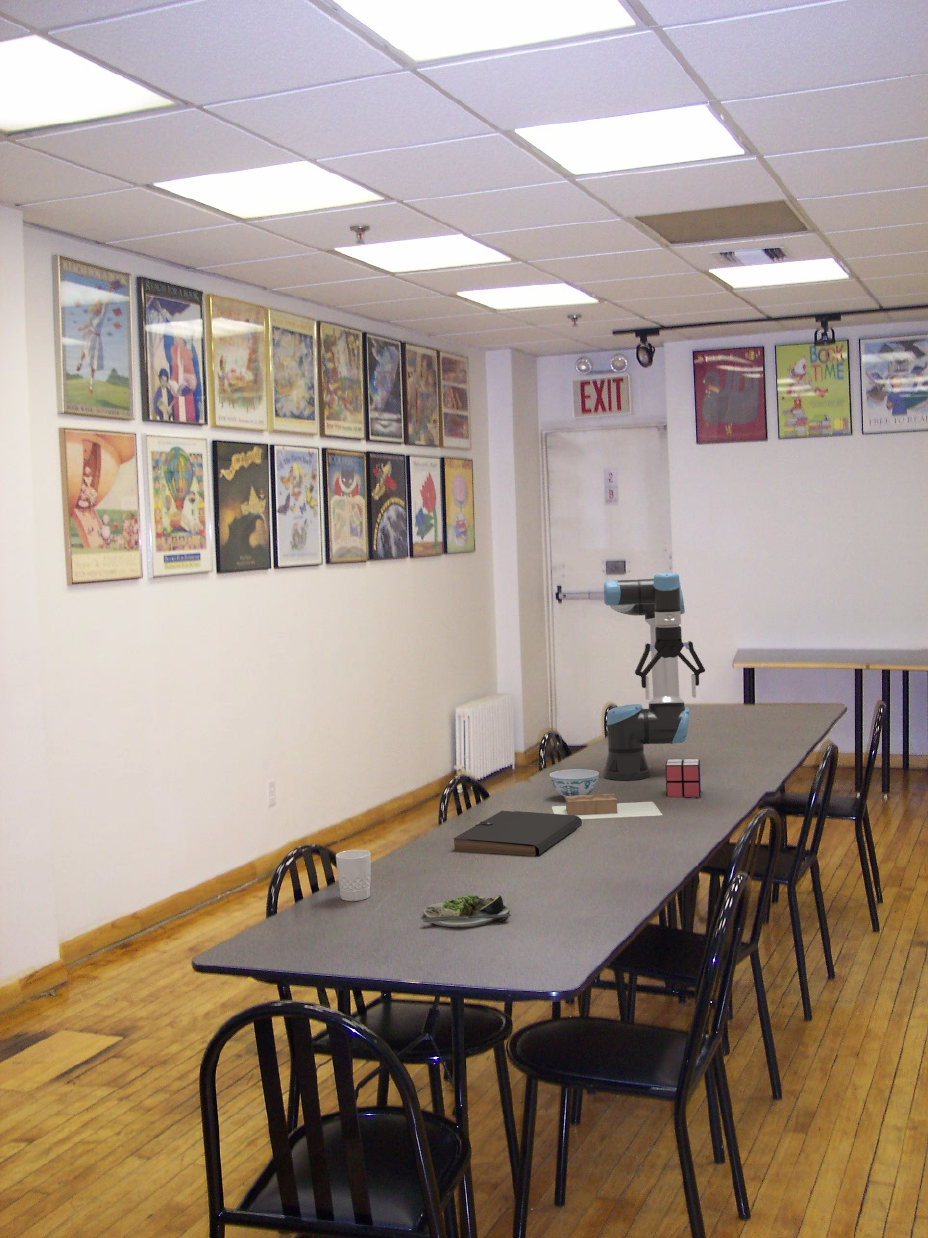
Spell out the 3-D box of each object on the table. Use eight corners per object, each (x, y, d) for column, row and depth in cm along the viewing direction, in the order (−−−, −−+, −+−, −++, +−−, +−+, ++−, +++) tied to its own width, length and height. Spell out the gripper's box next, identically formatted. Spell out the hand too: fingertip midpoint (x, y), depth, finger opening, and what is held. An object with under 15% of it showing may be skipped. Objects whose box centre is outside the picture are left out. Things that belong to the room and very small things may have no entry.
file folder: (500, 809, 348) (581, 814, 338) (501, 823, 348) (582, 829, 338) (452, 837, 318) (539, 844, 308) (452, 852, 318) (539, 860, 308)
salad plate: (440, 939, 249) (439, 917, 249) (403, 917, 265) (402, 896, 264) (522, 921, 258) (521, 900, 257) (482, 901, 274) (481, 880, 273)
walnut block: (614, 807, 358) (566, 809, 358) (613, 793, 358) (565, 796, 358) (617, 813, 350) (568, 815, 350) (616, 799, 350) (567, 801, 350)
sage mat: (551, 807, 363) (551, 806, 363) (652, 803, 363) (652, 801, 363) (556, 821, 345) (556, 820, 345) (662, 816, 345) (662, 815, 345)
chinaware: (609, 796, 374) (608, 771, 374) (579, 806, 363) (578, 780, 363) (570, 791, 385) (569, 767, 384) (540, 800, 374) (539, 775, 373)
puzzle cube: (700, 798, 367) (699, 765, 366) (666, 798, 369) (665, 765, 368) (700, 791, 377) (699, 759, 376) (667, 791, 379) (666, 759, 378)
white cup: (338, 893, 284) (336, 851, 283) (372, 891, 285) (370, 848, 284) (337, 903, 276) (335, 859, 275) (372, 901, 277) (370, 857, 276)
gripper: (626, 629, 355) (629, 701, 357) (713, 625, 354) (715, 697, 356) (624, 626, 362) (626, 697, 364) (708, 622, 361) (711, 694, 363)
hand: (670, 698), depth 360 cm, fingers open, 13 cm apart
